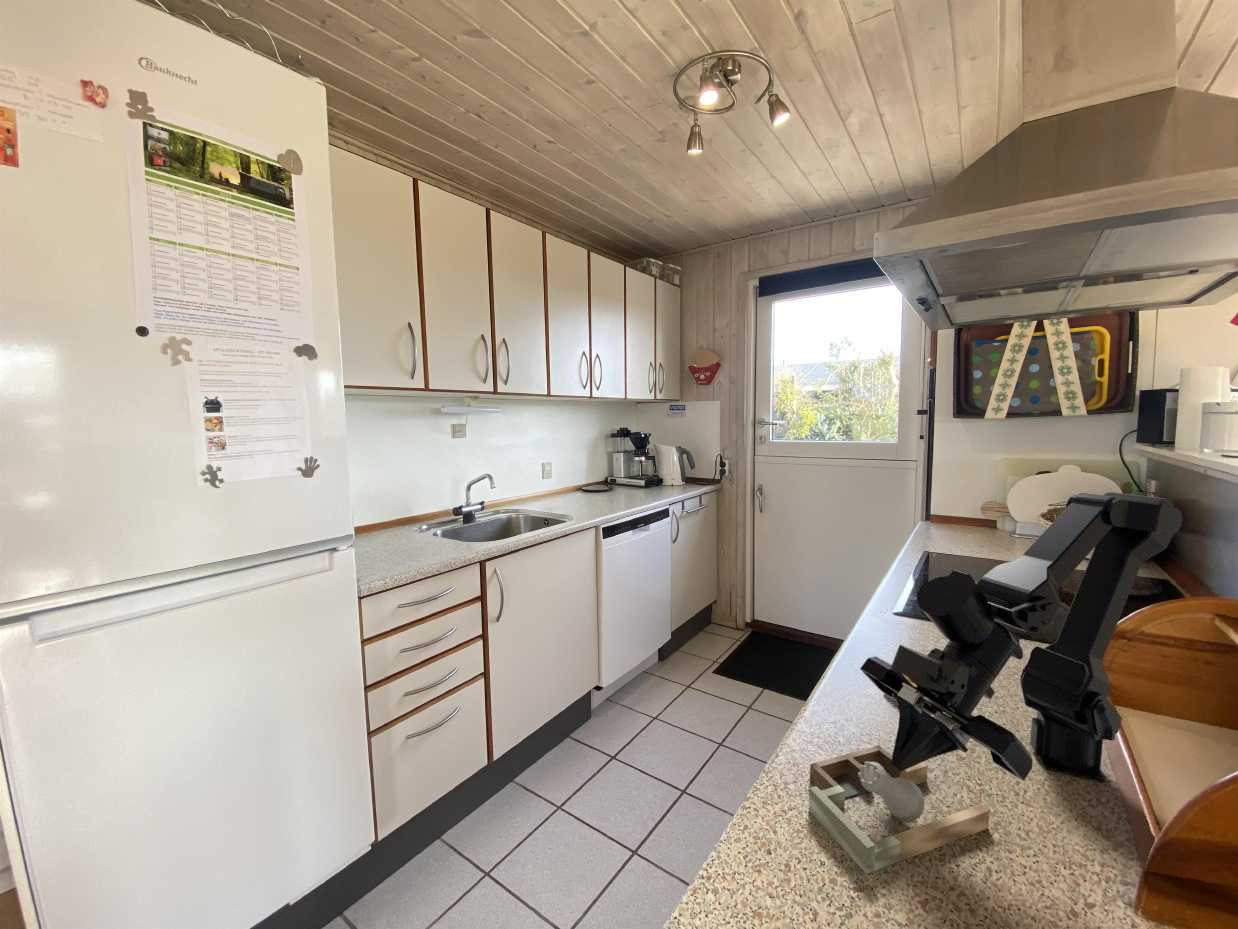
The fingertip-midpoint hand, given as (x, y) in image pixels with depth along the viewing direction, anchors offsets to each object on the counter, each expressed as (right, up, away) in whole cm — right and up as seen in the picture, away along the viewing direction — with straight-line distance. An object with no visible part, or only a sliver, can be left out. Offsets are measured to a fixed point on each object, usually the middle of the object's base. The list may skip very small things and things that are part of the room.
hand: (895, 767), depth 59 cm
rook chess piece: (+2, -5, +1) cm, 6 cm away
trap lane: (0, -6, +3) cm, 7 cm away
